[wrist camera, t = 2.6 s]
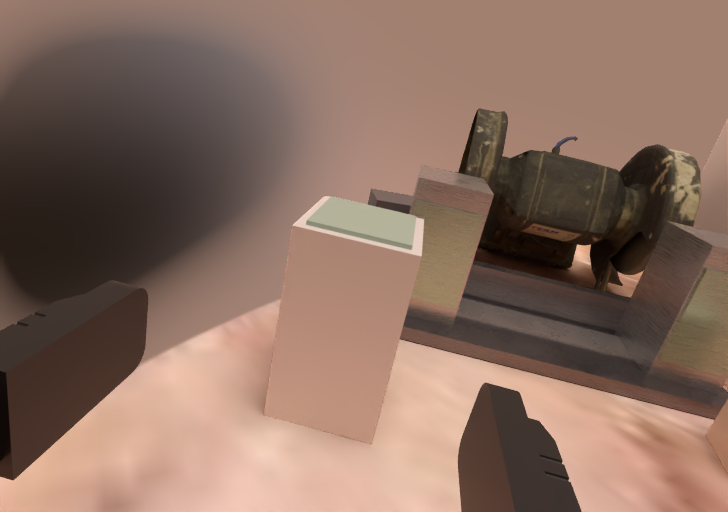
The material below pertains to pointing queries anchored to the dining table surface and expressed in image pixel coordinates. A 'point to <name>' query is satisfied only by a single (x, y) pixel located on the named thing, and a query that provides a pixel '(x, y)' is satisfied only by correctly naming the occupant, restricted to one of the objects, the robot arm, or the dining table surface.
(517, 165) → the bench grinder
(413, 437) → the dining table surface
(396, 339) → the block
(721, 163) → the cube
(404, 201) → the relay
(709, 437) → the beige rectangular block
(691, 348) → the rail
